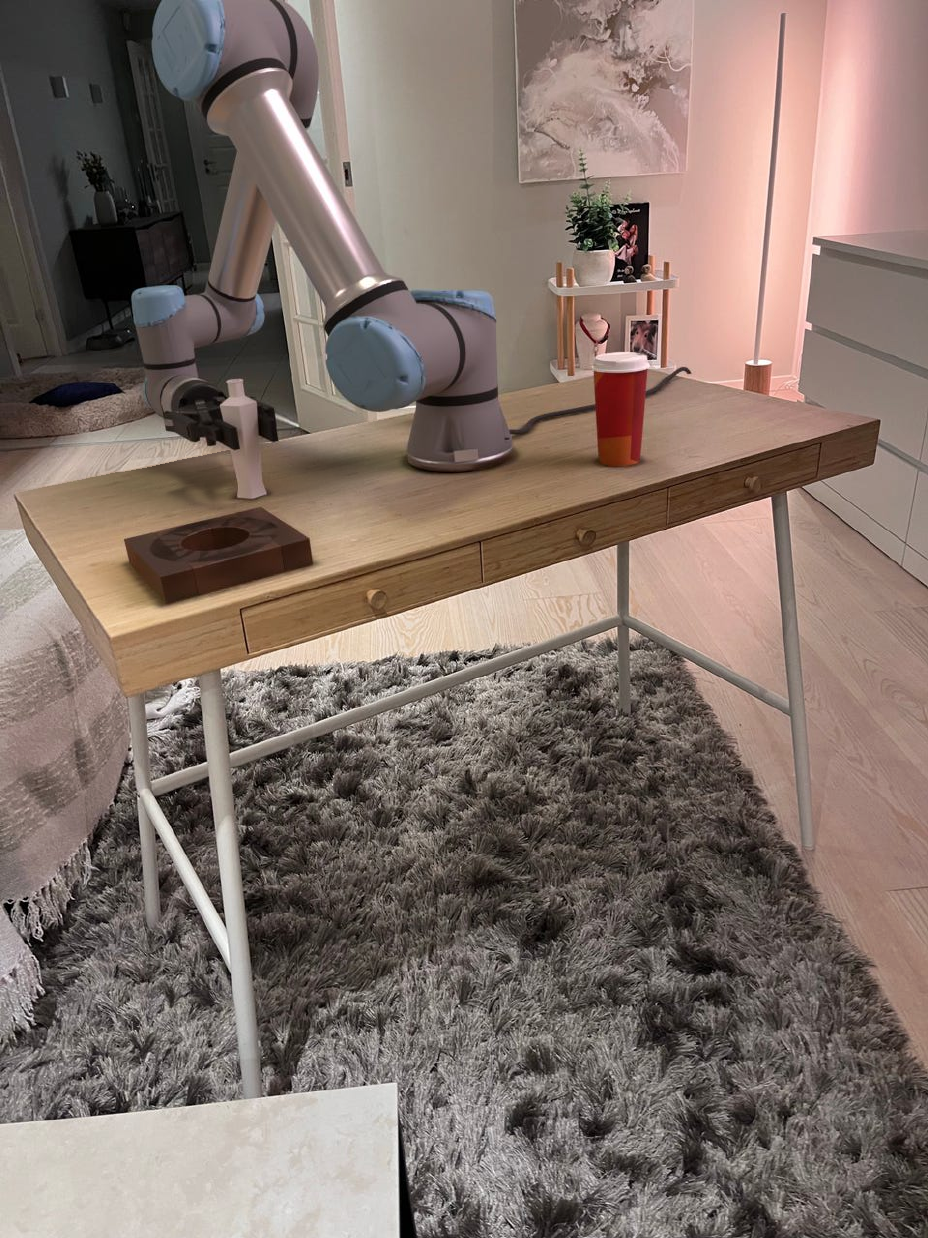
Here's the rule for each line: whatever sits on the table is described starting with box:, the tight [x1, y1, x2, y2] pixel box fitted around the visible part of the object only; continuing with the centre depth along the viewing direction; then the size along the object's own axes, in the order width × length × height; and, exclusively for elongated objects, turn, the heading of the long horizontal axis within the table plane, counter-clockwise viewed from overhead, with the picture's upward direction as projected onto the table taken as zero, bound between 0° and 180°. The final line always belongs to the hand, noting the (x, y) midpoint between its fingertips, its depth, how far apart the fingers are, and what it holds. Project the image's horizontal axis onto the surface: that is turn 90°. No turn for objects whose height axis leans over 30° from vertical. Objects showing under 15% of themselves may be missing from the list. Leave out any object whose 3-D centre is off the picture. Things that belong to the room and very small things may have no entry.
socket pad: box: [123, 506, 314, 605], centre depth 102 cm, size 16×14×3 cm
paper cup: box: [590, 351, 651, 467], centre depth 126 cm, size 8×8×14 cm
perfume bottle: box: [220, 378, 268, 500], centre depth 122 cm, size 5×4×15 cm
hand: (254, 434), depth 117 cm, fingers closed on perfume bottle, 4 cm apart
